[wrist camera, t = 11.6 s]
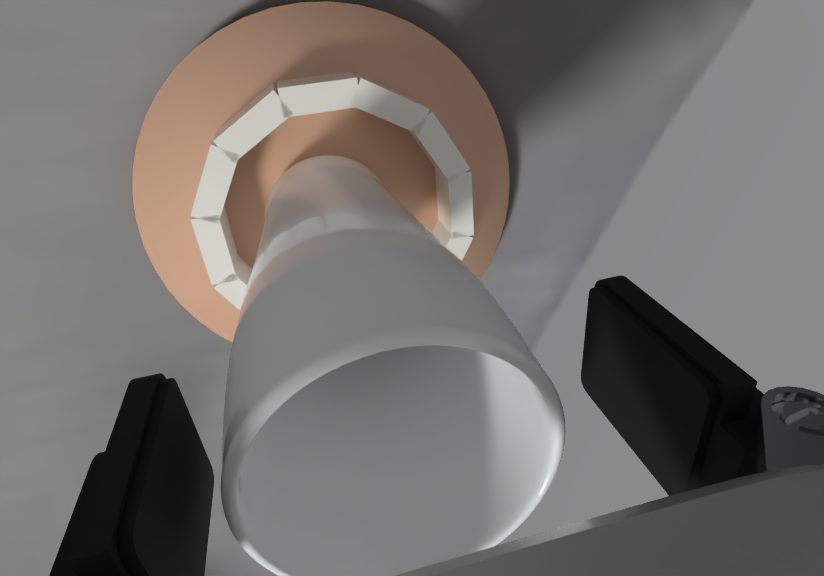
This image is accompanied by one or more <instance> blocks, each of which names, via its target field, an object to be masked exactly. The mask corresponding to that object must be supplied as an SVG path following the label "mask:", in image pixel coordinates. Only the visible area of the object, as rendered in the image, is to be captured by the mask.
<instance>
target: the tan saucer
mask: <svg viewBox="0 0 824 576" xmlns="http://www.w3.org/2000/svg"><path fill="white" fill-rule="evenodd" d="M320 155H338V156H344V157H347V158H351V159H353V160H356V161H358V162H360V163H362V164H363V165H365V166H367V167H368V168H369V169H371V170H372V171H373V172H374V173H375V174H376V175H377V176H378V177H379V178H380V180H381V181H382V182H383V184H384V185H385V187H386V188H387V190H388V191H389V192H390V193H391V194H392V195H393V196H394V197H395V198H396V199H397V200H399V201H400V202H401V203H402V204H403V205H404V206H405V207H406V208H407V209H408V210H409V211H410V212H411V213H412V214H413V215H414V216H415V217H416V218H417V219H418V220H419V221H420V222H421V223H423V224H424V225H425V226H426V227H427V228H428V229H429V230H430V231H431V232H432V233H433V234H434V235H435V236H436V237H437V238H439V239H440V240H441V241H442V242H443V243H444V244H445V245H446V246H447V247H448V248H449V249H450V250H451V251H452V252H453V253H454V254H455V255H456V256H457V257H458V258H459V259H460V260H461V261H462V262H463V263H464V264H465V265H466V266H467V267H468V268H469V269H470V270H471V271H472V273H473V274H474V275H475V276H476V277H477V278H478V279H479V280H480V278H481V277H482V275H483V273H484V272H485V270H486V268H487V267H488V265H489V263H490V261H491V259H492V257H493V255H494V252H495V250H496V248H497V246H498V243H499V240H500V237H501V234H502V231H503V227H504V224H505V219H506V214H507V208H508V203H509V186H510V177H509V162H508V155H507V150H506V145H505V140H504V135H503V133H502V130H501V127H500V124H499V121H498V118H497V115H496V113H495V111H494V109H493V107H492V105H491V103H490V101H489V99H488V97H487V95H486V93H485V91H484V90H483V88H482V87H481V86H480V84H479V83H478V81H477V80H476V78H475V77H474V75H473V74H472V72H471V71H470V70H469V69H468V68H467V67H466V66H465V65H464V64H463V63H462V61H461V60H460V59H459V58H458V57H457V56H456V55H455V54H454V53H453V52H452V51H451V50H449V49H448V48H447V47H446V46H445V45H443V44H442V43H441V42H440V41H439V40H437V39H436V38H435V37H434V36H432V35H430V34H429V33H427V32H425V31H424V30H422V29H420V28H419V27H417V26H416V25H414V24H412V23H411V22H408V21H406V20H403V19H401V18H399V17H396V16H394V15H392V14H389V13H387V12H384V11H381V10H377V9H373V8H369V7H366V6H362V5H358V4H349V3H340V2H331V1H324V2H299V3H294V4H288V5H283V6H278V7H272V8H269V9H266V10H263V11H260V12H257V13H255V14H252V15H249V16H246V17H243V18H241V19H240V20H238V21H236V22H234V23H232V24H230V25H228V26H226V27H224V28H223V29H221V30H219V31H217V32H216V33H214V34H213V35H212V36H210V37H209V38H208V39H206V40H205V41H204V42H202V43H201V44H200V45H198V46H197V47H196V48H194V49H193V50H192V51H191V52H190V53H189V54H188V55H187V56H186V57H185V58H184V59H183V60H182V62H181V63H180V64H179V65H178V66H177V67H176V68H175V69H174V70H173V71H172V73H171V74H170V75H169V77H168V78H167V80H166V81H165V82H164V84H163V85H162V87H161V88H160V90H159V91H158V92H157V94H156V96H155V98H154V100H153V102H152V104H151V106H150V108H149V110H148V112H147V114H146V116H145V119H144V122H143V125H142V128H141V132H140V135H139V138H138V141H137V145H136V152H135V158H134V164H133V202H134V208H135V215H136V222H137V225H138V228H139V231H140V235H141V238H142V241H143V245H144V247H145V249H146V251H147V254H148V256H149V258H150V260H151V262H152V264H153V266H154V268H155V270H156V271H157V273H158V275H159V276H160V278H161V279H162V281H163V282H164V284H165V285H166V287H167V288H168V290H169V291H170V292H171V293H172V294H173V295H174V297H175V298H176V299H177V300H178V301H179V303H180V304H181V305H182V306H183V307H184V308H185V309H186V310H187V311H189V312H190V313H191V314H192V315H193V316H194V317H195V318H196V319H197V320H198V321H200V322H201V323H202V324H204V325H205V326H207V327H208V328H209V329H211V330H212V331H214V332H215V333H216V334H218V335H220V336H222V337H223V338H225V339H227V340H229V341H231V342H233V339H234V334H235V329H236V325H237V320H238V317H239V313H240V309H241V305H242V302H243V298H244V295H245V291H246V288H247V284H248V280H249V277H250V273H251V270H252V266H253V263H254V259H255V256H256V252H257V248H258V245H259V241H260V237H261V233H262V229H263V226H264V216H265V207H266V202H267V199H268V196H269V193H270V191H271V189H272V187H273V186H274V184H275V183H276V181H277V180H278V179H279V177H280V176H281V175H282V174H283V173H284V172H285V171H286V170H288V169H289V168H290V167H292V166H293V165H295V164H296V163H298V162H300V161H302V160H305V159H308V158H311V157H315V156H320Z"/></svg>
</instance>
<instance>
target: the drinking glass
mask: <svg viewBox="0 0 824 576" xmlns="http://www.w3.org/2000/svg"><path fill="white" fill-rule="evenodd" d="M564 443H565V418H564V413H563V407H562V404H561V401H560V398H559V395H558V393H557V391H556V389H555V387H554V385H553V383H552V381H551V380H550V378H549V377H548V375H547V374H546V373H545V371H544V370H543V368H542V367H541V365H540V364H539V362H538V361H537V359H536V358H535V356H534V354H533V353H532V351H531V350H530V348H529V347H528V345H527V344H526V342H525V341H524V339H523V338H522V336H521V335H520V333H519V332H518V330H517V329H516V327H515V326H514V324H513V323H512V322H511V320H510V319H509V317H508V316H507V315H506V313H505V312H504V311H503V309H502V308H501V307H500V305H499V304H498V303H497V301H496V300H495V299H494V297H493V296H492V295H491V294H490V292H489V291H488V290H487V289H486V288H485V286H484V285H483V284H482V283H481V282H480V281H479V279H478V278H477V277H476V276H475V275H474V274H473V273H472V271H471V270H470V269H469V268H468V267H467V266H466V265H465V264H464V263H463V262H462V261H461V260H460V259H459V258H458V257H457V256H456V255H455V254H454V253H453V252H452V251H451V250H450V249H449V248H448V247H447V246H446V245H445V244H444V243H443V242H442V241H441V240H440V239H439V238H437V237H436V236H435V235H434V234H433V233H432V232H431V231H430V230H429V229H428V228H427V227H426V226H425V225H424V224H423V223H421V222H420V221H419V220H418V219H417V218H416V217H415V216H414V215H413V214H412V213H411V212H410V211H409V210H408V209H407V208H406V207H405V206H404V205H403V204H402V203H401V202H400V201H399V200H397V199H396V198H395V197H394V196H393V195H392V194H391V193H390V192H389V191H388V190H387V188H386V187H385V185H384V184H383V182H382V181H381V180H380V178H379V177H378V176H377V175H376V174H375V173H374V172H373V171H372V170H371V169H369V168H368V167H367V166H365V165H363V164H362V163H360V162H358V161H356V160H353V159H351V158H347V157H344V156H338V155H320V156H315V157H311V158H308V159H305V160H302V161H300V162H298V163H296V164H295V165H293V166H292V167H290V168H289V169H288V170H286V171H285V172H284V173H283V174H282V175H281V176H280V177H279V179H278V180H277V181H276V183H275V184H274V186H273V187H272V189H271V191H270V193H269V196H268V199H267V202H266V207H265V216H264V226H263V229H262V233H261V237H260V241H259V245H258V248H257V252H256V256H255V259H254V263H253V266H252V270H251V273H250V277H249V280H248V284H247V288H246V291H245V295H244V298H243V302H242V305H241V309H240V313H239V317H238V320H237V325H236V329H235V334H234V339H233V344H232V349H231V355H230V361H229V368H228V375H227V384H226V394H225V408H224V423H223V446H222V477H221V496H222V505H223V509H224V513H225V517H226V519H227V522H228V525H229V527H230V529H231V531H232V533H233V535H234V536H235V538H236V540H237V541H238V542H239V544H240V545H241V546H242V548H243V549H244V550H245V551H246V552H247V553H248V554H249V555H250V556H251V557H252V558H253V559H254V560H255V561H257V562H258V563H259V564H261V565H262V566H263V567H264V568H266V569H268V570H269V571H271V572H273V573H274V574H276V575H278V576H395V575H399V574H402V573H405V572H409V571H412V570H415V569H419V568H422V567H426V566H429V565H432V564H436V563H439V562H443V561H446V560H450V559H453V558H456V557H460V556H463V555H467V554H470V553H474V552H477V551H480V550H484V549H487V548H491V547H494V546H496V545H497V544H499V543H500V542H502V541H503V540H504V539H505V538H506V537H507V536H509V535H510V534H511V533H512V532H513V531H515V530H516V528H517V527H519V526H520V525H521V524H522V523H523V522H524V521H525V519H527V517H528V516H529V515H530V514H531V513H532V512H533V510H534V509H535V508H536V507H537V505H538V504H539V503H540V501H541V500H542V498H543V497H544V495H545V494H546V492H547V491H548V489H549V487H550V485H551V483H552V482H553V480H554V477H555V475H556V473H557V470H558V468H559V464H560V461H561V458H562V454H563V448H564Z"/></svg>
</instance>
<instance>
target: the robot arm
mask: <svg viewBox="0 0 824 576" xmlns="http://www.w3.org/2000/svg"><path fill="white" fill-rule="evenodd" d="M581 381H582V384H583V387H584V389H585V391H586V392H587V393H588V395H589V396H590V397H591V398H592V400H593V401H594V402H595V404H596V405H597V406H598V407H599V408H600V410H601V411H602V412H603V414H604V415H605V416H606V417H607V419H608V420H609V421H610V422H611V424H612V425H613V426H614V427H615V428H616V430H617V431H618V432H619V434H620V435H621V436H622V437H623V438H624V440H625V441H626V442H627V444H628V445H629V446H630V447H631V449H632V450H633V451H634V452H635V454H636V455H637V456H638V457H639V459H641V461H642V462H643V464H644V465H645V466H646V467H647V469H648V470H649V471H650V472H651V474H652V475H653V476H654V477H655V478H656V480H657V481H658V482H659V483H660V485H661V486H662V487H663V489H664V490H665V491H666V492H667V494H668V495H669V496H668V497H665V498H662V499H658V500H654V501H651V502H647V503H644V504H641V505H637V506H633V507H630V508H626V509H623V510H619V511H616V512H612V513H609V514H605V515H602V516H598V517H595V518H591V519H587V520H584V521H580V522H577V523H574V524H570V525H566V526H563V527H560V528H556V529H553V530H549V531H546V532H542V533H539V534H535V535H532V536H529V537H525V538H522V539H519V540H515V541H511V542H508V543H505V544H501V545H498V546H494V547H491V548H487V549H484V550H480V551H477V552H474V553H470V554H467V555H463V556H460V557H456V558H453V559H450V560H446V561H443V562H439V563H436V564H432V565H429V566H426V567H422V568H419V569H415V570H412V571H409V572H405V573H402V574H399V575H395V576H824V395H822V394H820V393H818V392H815V391H811V390H808V389H804V388H797V387H777V388H774V389H771V390H768V391H767V392H766V393H765V394H763V393H762V392H761V391H759V390H758V389H757V388H756V385H757V381H756V380H755V379H754V378H752V377H751V376H750V375H748V374H747V373H746V372H745V371H743V370H742V369H741V368H740V367H738V366H737V365H736V364H735V363H733V362H732V361H731V360H730V359H728V358H727V357H726V356H725V355H723V354H722V353H721V352H719V351H718V350H717V349H716V348H714V347H713V346H712V345H711V344H709V343H708V342H707V341H706V340H704V339H703V338H702V337H701V336H699V335H698V334H697V333H695V332H694V331H693V330H692V329H691V328H689V327H688V326H687V325H685V324H684V323H683V322H682V321H680V320H679V319H678V318H677V317H675V316H674V315H673V314H672V313H670V312H669V311H668V310H667V309H665V308H664V307H663V306H662V305H660V304H659V303H658V302H656V301H655V300H654V299H653V298H651V297H650V296H649V295H648V294H646V293H645V292H644V291H643V290H641V289H640V288H639V287H638V286H636V285H635V284H634V283H632V282H631V281H630V280H629V279H627V278H626V277H624V276H616V277H611V278H607V279H603V280H599V281H597V282H596V284H595V287H594V288H592V289H590V291H589V298H588V309H587V319H586V329H585V340H584V350H583V360H582V371H581ZM213 487H214V475H213V470H212V466H211V464H210V461H209V459H208V456H207V454H206V452H205V449H204V447H203V444H202V442H201V440H200V437H199V435H198V432H197V430H196V428H195V425H194V423H193V420H192V418H191V416H190V413H189V411H188V408H187V406H186V404H185V401H184V399H183V396H182V394H181V392H180V389H179V387H178V384H177V382H176V380H175V379H174V378H170V379H166V378H165V376H164V375H163V374H161V373H160V374H155V375H150V376H146V377H141V378H136V379H133V380H131V381H130V383H129V385H128V388H127V391H126V393H125V396H124V399H123V402H122V405H121V408H120V411H119V413H118V416H117V419H116V422H115V425H114V428H113V431H112V433H111V436H110V439H109V442H108V445H107V448H106V451H105V452H101V453H98V454H97V455H96V456H95V457H94V459H93V461H92V462H91V465H90V467H89V470H88V473H87V476H86V478H85V481H84V484H83V486H82V489H81V492H80V494H79V497H78V500H77V503H76V505H75V508H74V511H73V513H72V516H71V519H70V521H69V524H68V527H67V529H66V532H65V535H64V538H63V540H62V543H61V546H60V548H59V551H58V554H57V556H56V559H55V562H54V564H53V567H52V570H51V573H50V575H49V576H204V572H205V563H206V554H207V544H208V535H209V525H210V516H211V506H212V497H213Z"/></svg>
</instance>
